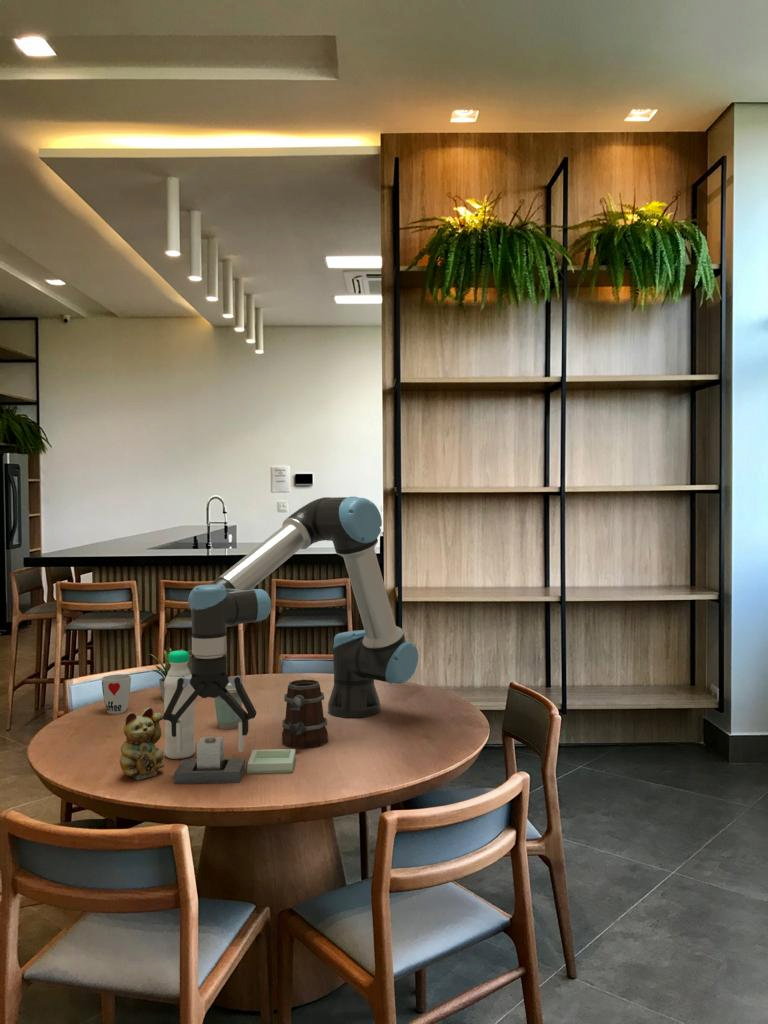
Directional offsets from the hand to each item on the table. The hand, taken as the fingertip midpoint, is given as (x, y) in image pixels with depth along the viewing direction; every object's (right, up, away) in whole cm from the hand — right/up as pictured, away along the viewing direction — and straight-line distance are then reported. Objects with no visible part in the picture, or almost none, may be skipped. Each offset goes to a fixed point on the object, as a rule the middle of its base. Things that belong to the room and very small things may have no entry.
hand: (210, 750), depth 177 cm
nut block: (0, -6, 0) cm, 6 cm away
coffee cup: (-4, -5, +39) cm, 39 cm away
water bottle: (-11, -6, +15) cm, 19 cm away
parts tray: (+13, -6, +7) cm, 15 cm away
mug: (+18, -6, +23) cm, 30 cm away
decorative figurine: (-16, -6, +1) cm, 17 cm away
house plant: (-26, -5, +68) cm, 73 cm away
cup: (-39, -5, +55) cm, 67 cm away
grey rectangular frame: (0, -6, 0) cm, 6 cm away
